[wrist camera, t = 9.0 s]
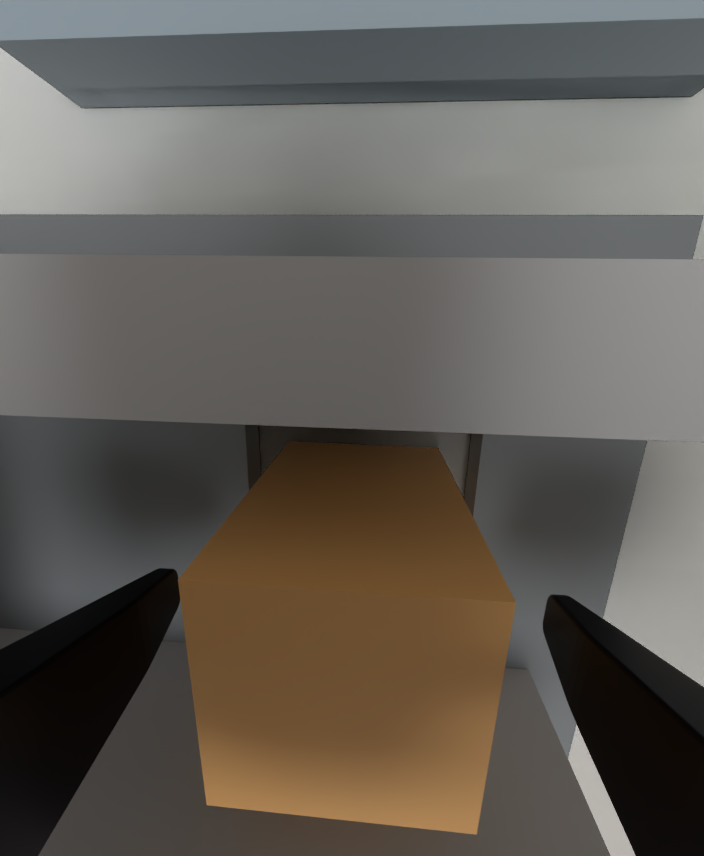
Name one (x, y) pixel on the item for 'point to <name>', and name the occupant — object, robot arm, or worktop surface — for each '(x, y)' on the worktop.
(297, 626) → the orange block
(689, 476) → the worktop surface
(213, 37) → the slate tray
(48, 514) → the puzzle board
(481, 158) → the worktop surface
